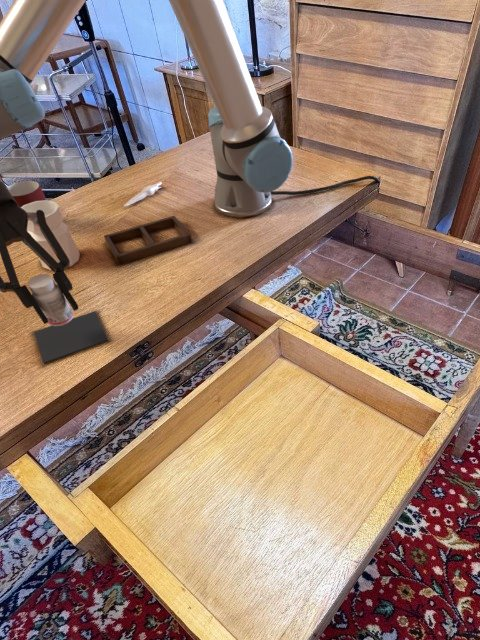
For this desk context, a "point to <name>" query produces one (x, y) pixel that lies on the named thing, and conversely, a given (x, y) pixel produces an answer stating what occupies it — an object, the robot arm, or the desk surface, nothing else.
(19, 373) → the desk surface
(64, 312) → the pill bottle
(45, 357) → the mat
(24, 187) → the mug
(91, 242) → the desk surface
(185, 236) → the rack
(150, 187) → the white elongated piece
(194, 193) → the desk surface
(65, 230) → the vase
